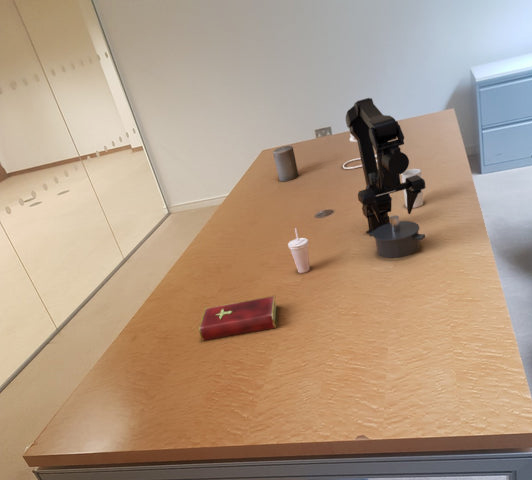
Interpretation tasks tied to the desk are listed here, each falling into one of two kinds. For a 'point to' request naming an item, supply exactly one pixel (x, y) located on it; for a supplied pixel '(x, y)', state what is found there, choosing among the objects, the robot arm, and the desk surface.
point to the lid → (396, 230)
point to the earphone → (354, 159)
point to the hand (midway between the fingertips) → (394, 217)
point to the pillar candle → (285, 163)
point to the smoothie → (300, 253)
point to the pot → (398, 246)
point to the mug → (405, 175)
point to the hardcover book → (238, 318)
